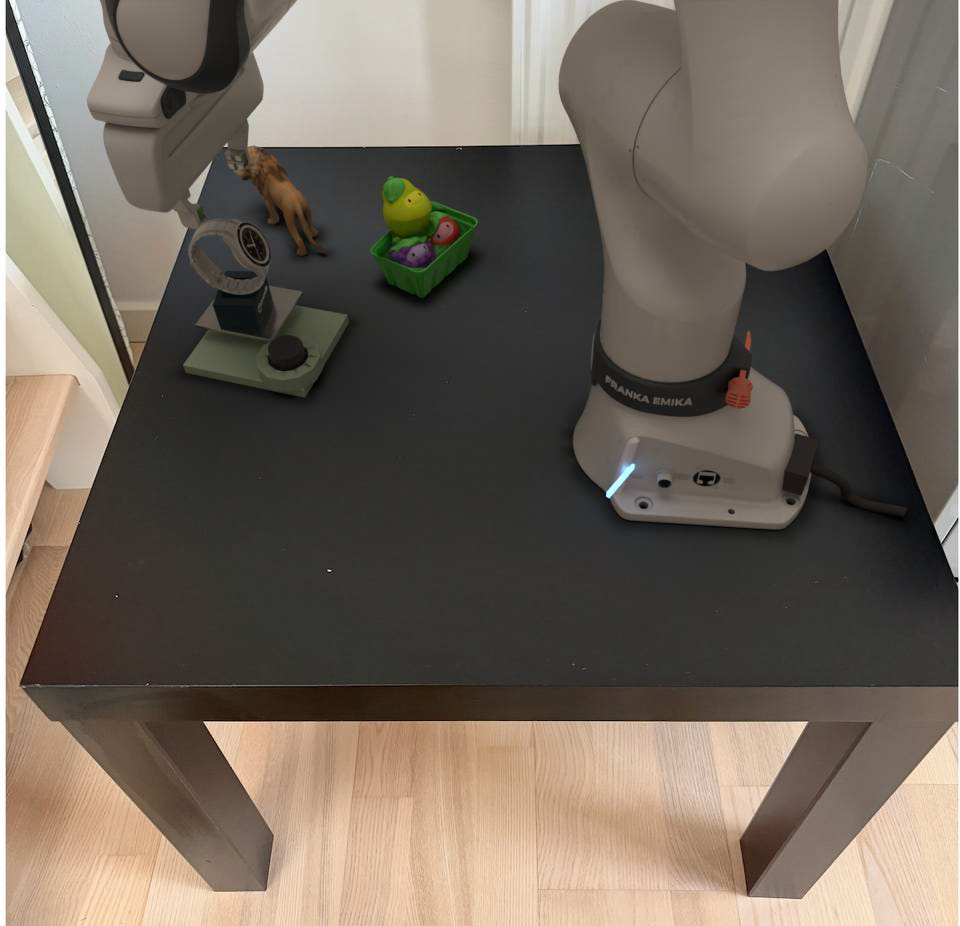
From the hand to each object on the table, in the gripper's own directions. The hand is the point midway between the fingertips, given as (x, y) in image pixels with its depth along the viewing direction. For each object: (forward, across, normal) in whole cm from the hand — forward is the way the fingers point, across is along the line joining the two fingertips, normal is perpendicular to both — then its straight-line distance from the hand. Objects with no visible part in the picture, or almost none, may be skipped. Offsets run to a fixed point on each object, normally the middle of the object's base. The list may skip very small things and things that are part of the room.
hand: (218, 194), depth 87 cm
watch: (+14, +1, -1) cm, 14 cm away
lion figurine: (+18, -18, -5) cm, 26 cm away
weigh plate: (+15, 0, -1) cm, 15 cm away
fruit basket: (+18, -15, +14) cm, 27 cm away
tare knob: (+15, +6, +6) cm, 17 cm away
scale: (+18, +2, +2) cm, 18 cm away
